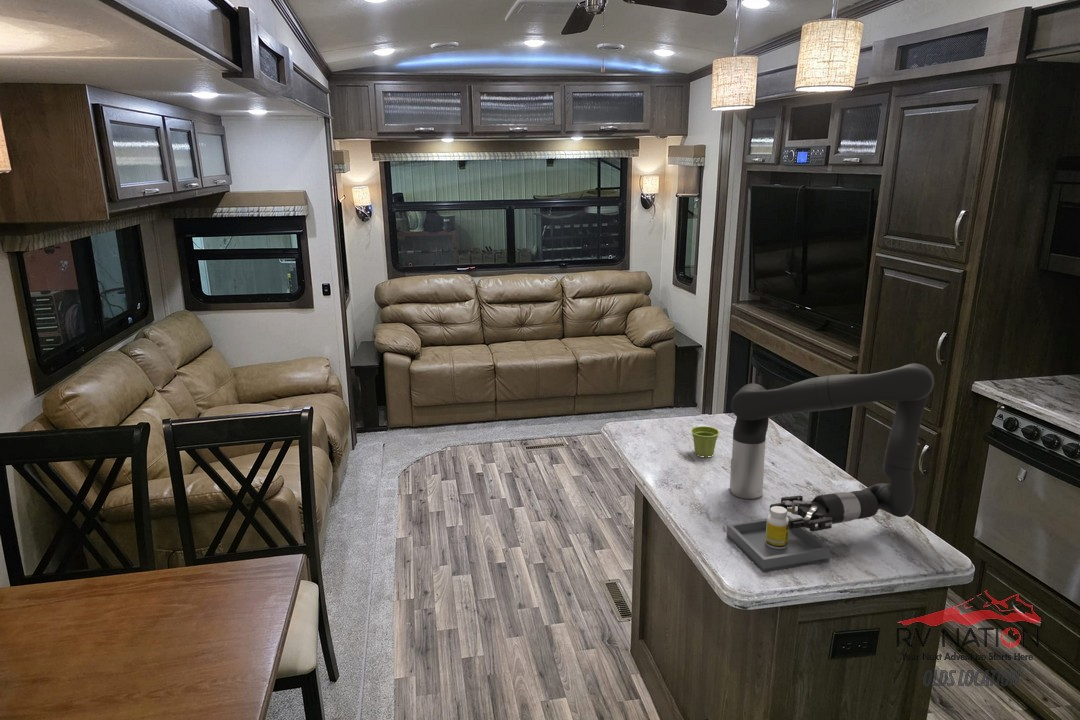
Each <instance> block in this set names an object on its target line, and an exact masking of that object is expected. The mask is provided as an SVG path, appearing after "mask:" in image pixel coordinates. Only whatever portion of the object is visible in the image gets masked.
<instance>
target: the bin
mask: <svg viewBox="0 0 1080 720" xmlns="http://www.w3.org/2000/svg"><path fill="white" fill-rule="evenodd" d="M786 517H787V518H788V519H789V520H790V519H794V518H793V517H792V516H790V515H789V514H787V516H786ZM766 524H767V518H761V519H756V520H755V519H754V520H749V521H742V522H736V523H730V524H729V523H728V524H727V529H726V537H727V539H729V540H730V542H732V543H733V544H734V545H735V547H737V548H738V549H739V551H740V552H741V553H742V554H743V555H745V556H746V557H747V558H748V560H750V562H752V563H753V564H754V566H755V567H756V568H757V569H759V570H760V571H761V572H762V573H770V572H775V571H782V570H787V569H792V568H798V567H804V566H805V567H806V566H810V565H818V564H823V563H829V562H830V557H831V548H830V547H829V546H827V545H826V544H825V543H824V542H823V541H822V540H820V539H819V538H818V537H816V536H815V535H814V534H813V533H811V532H810V530H807V528H804V527H801V528H793V529H790V528H789V531H788V544H787V547H786V548H784V549H774V548H771V547H769V546H767V545H766V543H765V539H766Z"/></svg>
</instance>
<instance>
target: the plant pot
mask: <svg viewBox="0 0 1080 720" xmlns="http://www.w3.org/2000/svg"><path fill="white" fill-rule="evenodd" d="M690 432H691V434H692V439H693V447H694V454H695V453H696V454H697V455H699V456H704V457H706V458H709V457H708V456H712V455H713V456H714V453H715V448H716V445H717V444H716V443H717V439H718V436H719V434H720V430H719V429H718V428H715V427H712V426H707V425H705V426H702V425H700V426H699V425H698V426H694V427H693V428H691V429H690ZM696 454H695V455H696ZM713 456H712V457H713Z"/></svg>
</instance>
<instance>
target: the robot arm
mask: <svg viewBox="0 0 1080 720" xmlns="http://www.w3.org/2000/svg"><path fill="white" fill-rule="evenodd" d="M934 386H935V375H934V374H933V373H932V371H931V370H930V369H929V368H928V367H927V366H926V365H923V364H920V363H909V364H905V365H902V366H900V367H897V368H892V369H890V370H888V369H887V370H883V371H880V372H875V373H864V374H862V373H861V374H857V373H856V374H855V373H851V374H850V373H848V374H847V373H845V374H841V373H840V374H831V375H824V376H817V377H811V378H807V379H804V380H801V381H798V382H797V381H796V382H795V383H792V384H789V385H786V386H783V387H779V388H774V389H766V388H765V387H764V386H763V385H760V384H758V383H748V384H745V385H744V386H742V387H741V388H740V389H739V390H738V391H736V393H735V395H733V397H732V399H731V402H730V408H731V411H732V413H733V414H734V415H735V416H736V418H735V419H736V420H735V424H734V426H733V430H732V449H731V450H732V452H731V454H732V455H731V460H730V478H729V488H730V493H731V494H732V495H733V496H735V497H737V498H739V499H745V500H753V499H759V498H761V497H762V496H763V494H764V493H763V492H764V491H763V490H764V476H765V474H764V473H765V460H766V459H765V457H766V443H767V442H766V440H767V439H766V438H767V437H766V436H767V432H768V428H769V422H770V421H769V420H770V419H769V418H771V417H773V416H774V417H775V416H779V415H785V414H800V413H801V414H802V413H810V412H821V411H822V412H823V411H830V410H841V409H844V408H850V407H856V406H860V405H864V404H865V405H866V404H868V403H874V402H875V403H876V402H877V403H878V402H889V401H890V402H893V401H894V402H895V401H896V404H895V405H896V406H895V413H894V418H893V422H892V425H891V429H890V432H889V436H888V439H887V443H886V448H885V453H884V458H883V464H882V472H883V474H884V475H885V476H886V477H887V478H888V479H889V481H890V483H887V482H886V483H885V482H882V483H874V484H873V485H871V486H868V487H866V488H864V489H861V490H854V491H846V492H845V491H841V492H840V491H839V492H833V493H832V492H831V493H828V494H819V495H816V496H815V497H814V498H813V499H812V500H811V501H810V500H804V499H803V498H804V497H803V495H793V496H791V495H790V496H784V497H783V496H782V497H781V498H780V502H778V503H771V504H770V505H769V510H770V509H771V507H773V506H781V507H784V508H786V509H787V513H791V514H792V515H795V516H796V515H797V516H799V517H798V518H793V519H790V520H789V521H788V527H789V528H790V529H793V528H801V527H804V528H805V529H809V532H810V531H811V532H812V533H813V532H819V531H823V530H828V529H829V530H830V529H832V526H833V525H834V524H840V523H848V522H852V521H854V520H855V521H856V520H861V519H866V518H868V519H869V518H871V517H874V516H875V515H877V513H878V511H879V510H882V511H884V512H886V513H888V514H890V515H892V516H894V517H897V518H904V517H906V516H909V514H910V513H911V512H912V510H913V509H914V507H915V498H916V497H915V495H916V494H915V489H914V488H915V487H914V486H915V484H914V483H915V482H914V476H913V472H914V468H915V462H916V456H917V450H918V444H919V443H918V442H919V435H920V429H921V428H920V427H921V422H922V417H923V414H924V410H925V407H926V404H927V401H928V399H929V396H930V394H931V392H932V391H933V389H934ZM796 507H797V509H796ZM816 525H817V526H816Z"/></svg>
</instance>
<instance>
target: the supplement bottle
mask: <svg viewBox="0 0 1080 720" xmlns="http://www.w3.org/2000/svg"><path fill="white" fill-rule="evenodd" d="M769 512H770V513H769V515H768V516H767V517H766V519H767V524H766V539H765V543H766V545H767V546H769V547H771V548H774V549H784V548H786V547H787V544H788V531H789V527H788V521H789V519H788V518H787V517H786V516H787V515H788V512H787V509H786V508H784V507H781V506H773V507H771V509H770V508H769Z"/></svg>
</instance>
